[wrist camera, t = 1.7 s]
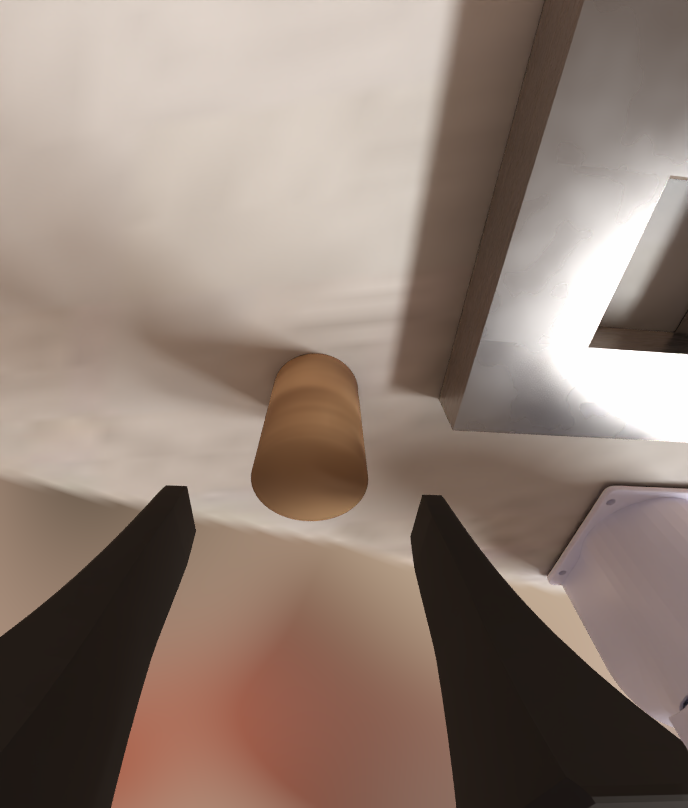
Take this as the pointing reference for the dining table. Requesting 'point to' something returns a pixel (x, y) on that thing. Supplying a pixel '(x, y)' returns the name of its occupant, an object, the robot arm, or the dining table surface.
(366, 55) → the dining table surface
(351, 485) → the peg
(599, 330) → the plate
